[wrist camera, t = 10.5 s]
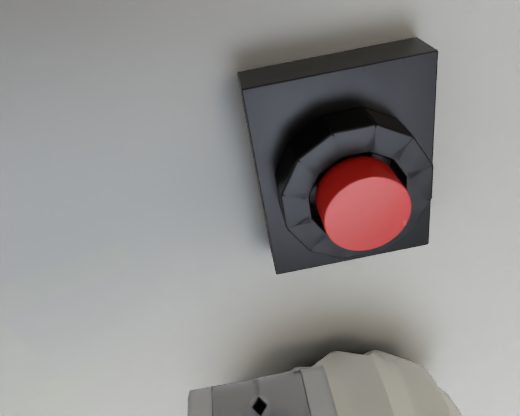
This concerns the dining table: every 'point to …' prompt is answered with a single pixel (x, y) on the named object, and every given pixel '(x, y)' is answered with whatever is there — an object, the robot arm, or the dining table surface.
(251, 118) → the control block
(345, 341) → the dining table surface
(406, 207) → the button
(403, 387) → the vase
